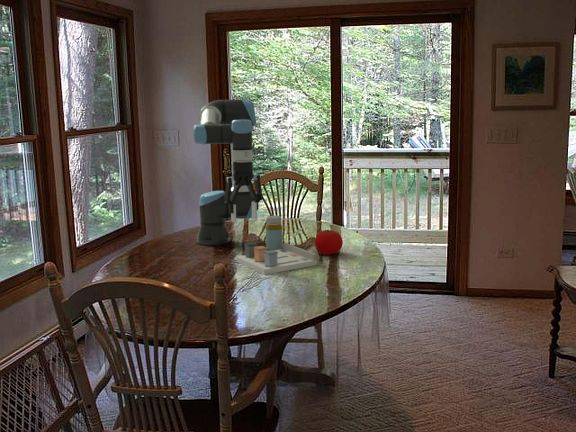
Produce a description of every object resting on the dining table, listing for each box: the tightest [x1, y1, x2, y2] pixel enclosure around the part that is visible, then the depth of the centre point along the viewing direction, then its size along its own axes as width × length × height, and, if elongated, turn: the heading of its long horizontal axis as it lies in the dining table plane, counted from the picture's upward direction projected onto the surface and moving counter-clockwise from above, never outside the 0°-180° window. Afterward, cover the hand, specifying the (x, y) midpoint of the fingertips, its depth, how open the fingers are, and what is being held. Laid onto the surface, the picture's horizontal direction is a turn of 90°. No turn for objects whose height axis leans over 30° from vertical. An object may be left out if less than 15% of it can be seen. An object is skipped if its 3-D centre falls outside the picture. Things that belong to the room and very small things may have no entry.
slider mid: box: [254, 245, 267, 262], centre depth 236 cm, size 4×4×5 cm
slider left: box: [243, 241, 258, 257], centre depth 243 cm, size 4×4×5 cm
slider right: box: [264, 250, 278, 266], centre depth 230 cm, size 4×4×5 cm
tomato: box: [314, 229, 343, 256], centre depth 253 cm, size 12×12×10 cm
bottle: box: [265, 214, 283, 251], centre depth 260 cm, size 7×7×15 cm
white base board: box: [235, 242, 318, 276], centre depth 240 cm, size 23×24×4 cm
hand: (244, 220), depth 230 cm, fingers open, 8 cm apart
